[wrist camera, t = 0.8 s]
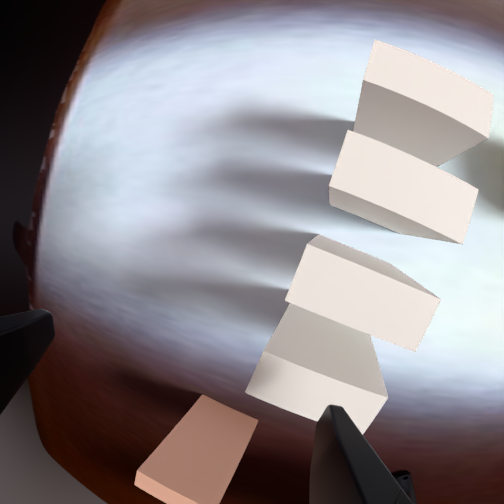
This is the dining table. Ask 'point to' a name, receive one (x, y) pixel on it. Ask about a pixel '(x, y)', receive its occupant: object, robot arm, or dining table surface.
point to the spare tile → (197, 455)
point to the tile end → (421, 106)
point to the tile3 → (362, 293)
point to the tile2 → (319, 369)
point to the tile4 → (400, 191)
